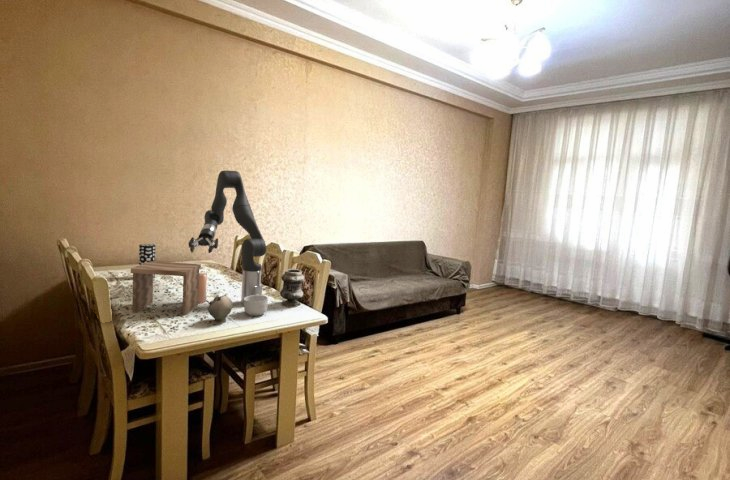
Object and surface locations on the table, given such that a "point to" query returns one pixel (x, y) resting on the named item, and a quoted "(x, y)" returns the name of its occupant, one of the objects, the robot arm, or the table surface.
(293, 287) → the dark mottled vase
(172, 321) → the table surface
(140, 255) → the spotted tube
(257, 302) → the teacup
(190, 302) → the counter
